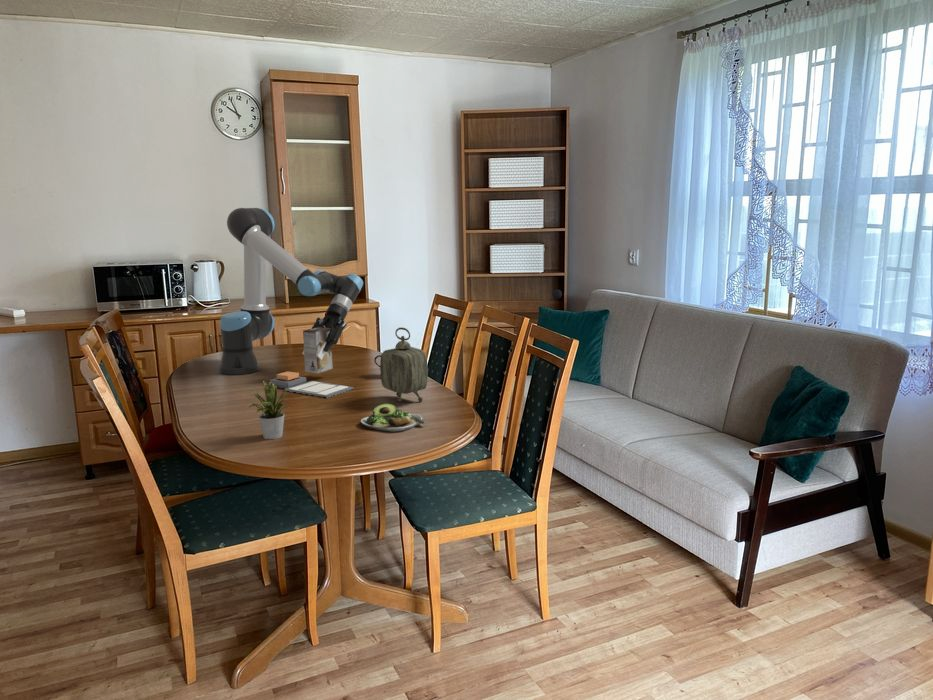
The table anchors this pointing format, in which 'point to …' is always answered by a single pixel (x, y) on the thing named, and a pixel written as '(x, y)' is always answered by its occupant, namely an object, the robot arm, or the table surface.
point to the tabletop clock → (404, 368)
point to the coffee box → (316, 350)
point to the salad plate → (391, 419)
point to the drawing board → (319, 389)
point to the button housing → (288, 382)
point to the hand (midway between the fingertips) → (311, 356)
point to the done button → (287, 375)
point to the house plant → (270, 412)
